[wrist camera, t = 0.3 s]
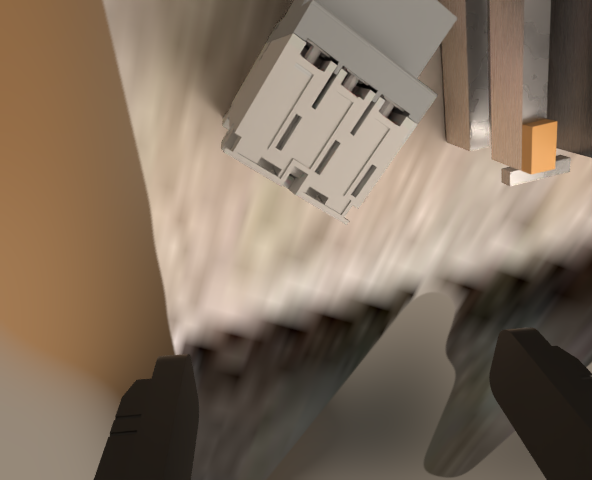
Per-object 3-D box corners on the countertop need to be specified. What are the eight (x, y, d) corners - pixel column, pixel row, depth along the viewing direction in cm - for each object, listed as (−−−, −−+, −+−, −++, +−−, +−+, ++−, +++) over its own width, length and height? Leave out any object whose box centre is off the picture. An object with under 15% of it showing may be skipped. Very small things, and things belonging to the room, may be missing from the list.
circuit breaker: (401, 9, 34) (521, -24, 20) (300, 166, 37) (344, 229, 24) (322, -57, 31) (397, -146, 18) (222, 118, 35) (220, 156, 21)
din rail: (434, -93, 31) (540, -170, 21) (455, -97, 31) (571, -176, 21) (446, 142, 38) (531, 174, 28) (464, 138, 38) (555, 168, 28)
